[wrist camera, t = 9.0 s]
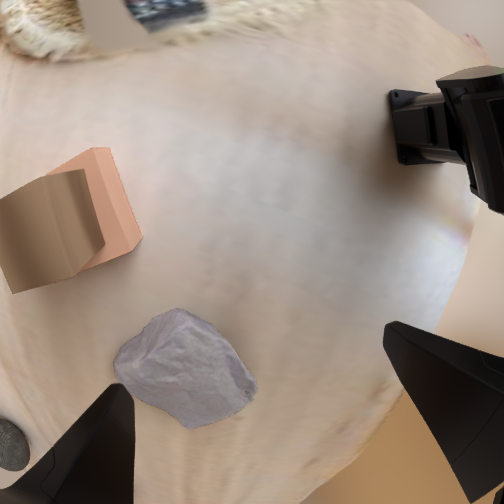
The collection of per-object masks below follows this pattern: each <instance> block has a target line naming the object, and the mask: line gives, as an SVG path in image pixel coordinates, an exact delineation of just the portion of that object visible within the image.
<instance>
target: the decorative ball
mask: <svg viewBox="0 0 504 504" xmlns="http://www.w3.org/2000/svg"><path fill="white" fill-rule="evenodd" d="M29 460H30V448H29V445H28V442H27V440H26V438H25V436H24V435H23V434H22V432H21V431H20V430H19V429H18V428H17V427H16V426H15V425H13V424H12V423H10V422H8V421H6V420H3V419H0V467H1V468H3V469H6V470H9V471H20V470H23V469H24V468H25V467H26V466H27V465H28V463H29Z"/></svg>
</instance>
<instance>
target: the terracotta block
mask: <svg viewBox="0 0 504 504" xmlns="http://www.w3.org/2000/svg"><path fill="white" fill-rule="evenodd" d="M78 169H84V170H85V175H86V179H87V183H88V187H89V191H90V194H91V198H92V202H93V205H94V209H95V212H96V216H97V219H98V222H99V225H100V229H101V232H102V235H103V238H104V241H105V245H104V246H103V247H102V248H101V249H100V250H99V251H98V252H97V253H96V254H95V255H94V256H93V257H92V258H91V259H90V260H89V261H88V262H87V263H86V264H85V265H84V266H83V267H82V268H81V269H80V270H79V271H78V272H77V273H79V272H82V271H84V270H86V269H89V268H91V267H94V266H96V265H99V264H101V263H103V262H106V261H108V260H111V259H113V258H116V257H118V256H121V255H123V254H126V253H128V252H131V251H132V250H133V249H134V248H135V246H136V245H137V244H138V242H139V241H140V240H141V238H142V237H143V235H142V233H141V230H140V228H139V226H138V223H137V221H136V218H135V216H134V213H133V211H132V208H131V205H130V203H129V200H128V198H127V195H126V192H125V190H124V187H123V184H122V181H121V179H120V176H119V173H118V170H117V167H116V164H115V161H114V158H113V155H112V152H111V149H110V148H100V147H92V148H90V149H89V150H87V151H85V152H83V153H81V154H79V155H78V156H76V157H74V158H73V159H71V160H69V161H67V162H66V163H64V164H62V165H61V166H59V167H58V168H56V169H54V170H53V171H51V172H50V173H48V174H47V175H52V174H57V173H62V172H67V171H73V170H78ZM47 175H45V176H47ZM77 273H76V274H77ZM55 283H56V282H55Z"/></svg>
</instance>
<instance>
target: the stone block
mask: <svg viewBox="0 0 504 504" xmlns="http://www.w3.org/2000/svg"><path fill="white" fill-rule="evenodd" d="M113 366H114V371H115V376H116V378H117V381H118V382H119V383H122V384H123V385H124V386H125V387H126V389H127V390H128V392H129V393H130V394H132V395H133V396H135V397H136V398H138V399H140V400H141V401H143V402H145V403H147V404H148V405H152V406H156V407H159V408H161V409H163V410H165V411H167V412H168V413H169V414H170V415H172V416H174V417H175V418H176V419H177V420H178V421H179V422H180V423H181V424H182V425H183V426H184V427H186V428H188V429H194V428H198V427H201V426H206V425H209V424H212V423H214V422H217V421H220V420H222V419H224V418H226V417H229V416H231V415H233V414H235V413H237V412H239V411H240V410H241V409H242V408H244V407H245V406H246V405H248V404H249V403H250V402H251V401H252V400H253V399H254V397H253V395H254V394H255V393H256V392H257V381H256V379H255V378H254V376H253V375H252V374H251V372H249V370H248V369H247V368H246V366H245V364H244V362H242V361H241V359H240V358H239V356H238V355H237V353H236V351H235V350H234V349H233V348H232V346H231V345H230V343H229V342H228V341H227V340H226V339H225V338H223V337H222V336H221V335H220V333H219V332H218V331H217V330H216V329H215V327H214V326H213V325H212V324H211V323H208V322H206V321H204V320H202V319H200V318H199V317H197V316H195V315H193V314H191V313H189V312H187V311H185V310H182V309H179V308H175V309H172V310H170V311H169V312H167V313H164V314H162V315H159V316H157V317H155V318H153V319H152V321H151V322H150V323H149V324H148V325H147V326H146V327H144V329H143V331H142V333H140V334H139V335H138V336H135V337H134V338H132V339H131V340H130V341H128V342H127V343H126V344H125V345H124V346H123V347H122V348H121V349H120V350H119V353H118V354H117V356H116V358H115V360H114V363H113Z"/></svg>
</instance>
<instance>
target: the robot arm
mask: <svg viewBox="0 0 504 504" xmlns="http://www.w3.org/2000/svg"><path fill="white" fill-rule="evenodd" d="M436 84H437V86H438V88H440V90H441V93H433V94H429V93H422V92H415V91H406V90H397V89H394V90H391V91H390V92H389V98H390V103H391V109H392V115H393V122H394V129H395V137H396V144H397V154H398V161H399V163H400V164H401V165H415V164H429V163H446V162H450V163H456V164H462V165H466V167H467V171H468V175H469V179H470V189H471V192H472V193H473V194H475V195H476V196H477V197H479V198H480V199H482V200H483V201H484V202H486V203H487V204H488V208H489V209H491V210H492V211H494V212H497V213H499V214H502V215H504V68H499V67H493V66H479V67H474V68H468V69H464V70H461V71H458V72H456V73H453V74H451V75H448V76H445V77H443V78H440V79H438V80H436ZM394 93H395V95H396V97H395V96H394ZM403 157H404V158H405V160H404V161H403ZM383 347H384V350H385V351H386V353H387V355H388V357H389V359H390V361H391V363H392V365H393V368H394V370H395V372H396V374H397V376H398V378H399V380H400V381H401V383H402V385H403V386H404V388H405V390H406V391H407V393H408V394H409V396H410V397H411V399H412V401H413V402H414V404H415V405H416V407H417V409H418V410H419V412H420V414H421V415H422V417H423V419H424V420H425V422H426V424H427V425H428V427H429V429H430V430H431V432H432V434H433V436H434V437H435V439H436V441H437V442H438V444H439V446H440V447H441V449H442V451H443V453H444V455H445V456H446V458H447V460H448V462H449V464H450V466H451V468H452V470H453V472H454V473H455V475H456V477H457V479H458V481H459V483H460V485H461V487H462V489H463V491H464V493H465V495H466V497H467V499H468V501H469V502H470V504H472V503H473V502H475V501H476V500H478V499H480V498H481V497H482V496H484V495H486V494H487V493H488V492H490V491H491V490H493V489H494V488H496V487H497V486H498V485H500V484H501V483H502V482H504V358H502V357H499V356H495V355H493V354H489V353H486V352H483V351H481V350H478V349H474V348H472V347H469V346H466V345H463V344H460V343H457V342H455V341H452V340H449V339H446V338H443V337H441V336H437V335H435V334H432V333H429V332H427V331H424V330H421V329H418V328H415V327H413V326H410V325H407V324H404V323H402V322H399V321H393V322H390V323H388V324H386V325H385V328H384V336H383ZM134 459H135V408H134V400H133V398H132V396H131V395H130V393H129V392H128V390H127V389H126V387H125V386H124V385H123V384H122V383H115V384H111V385H110V386H109V387H108V388H107V389H106V390H105V391H104V392H103V393H102V394H101V395H100V396H99V397H98V398H97V399H96V400H95V401H94V403H93V404H92V405H91V406H90V407H89V408H88V409H87V410H86V411H85V412H84V413H83V414H82V415H81V416H80V417H79V419H78V420H77V421H76V422H75V423H74V424H73V425H72V426H71V427H70V428H69V429H68V430H67V431H66V433H65V434H64V435H63V436H62V437H61V438H60V439H59V440H58V441H57V442H56V443H55V444H54V446H53V447H52V448H51V449H50V450H49V451H48V452H47V453H46V454H45V455H44V456H43V457H42V458H41V459H40V460H39V461H38V462H37V463H36V464H35V465H34V466H33V467H32V468H31V469H30V470H28V471H27V472H26V473H25V474H24V475H23V476H22V477H20V478H19V479H18V480H17V481H16V482H15V483H14V484H13V485H11V486H9V487H7V488H5V489H0V504H134ZM493 504H504V486H503V487H502V488H501V489H499V490H498V491H497V492H496V494H495V498H494V501H493Z"/></svg>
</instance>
